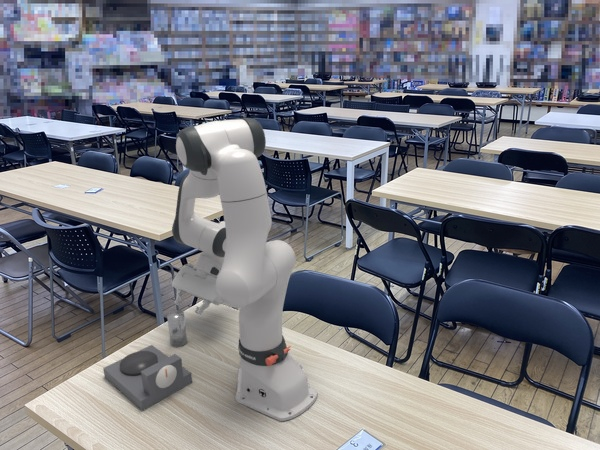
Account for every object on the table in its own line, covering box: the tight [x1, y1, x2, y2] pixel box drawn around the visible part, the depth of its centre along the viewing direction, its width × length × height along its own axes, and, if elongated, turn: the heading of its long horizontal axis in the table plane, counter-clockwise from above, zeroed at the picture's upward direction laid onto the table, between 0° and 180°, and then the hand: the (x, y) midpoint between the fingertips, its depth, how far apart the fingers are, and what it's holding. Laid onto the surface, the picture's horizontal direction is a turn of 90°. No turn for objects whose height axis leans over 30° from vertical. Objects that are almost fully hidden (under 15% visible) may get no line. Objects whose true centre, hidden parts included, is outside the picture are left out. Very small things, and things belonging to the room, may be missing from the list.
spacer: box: [166, 309, 188, 348], centre depth 147 cm, size 5×5×10 cm
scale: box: [102, 344, 193, 412], centre depth 130 cm, size 20×15×9 cm
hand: (187, 309), depth 149 cm, fingers open, 8 cm apart
